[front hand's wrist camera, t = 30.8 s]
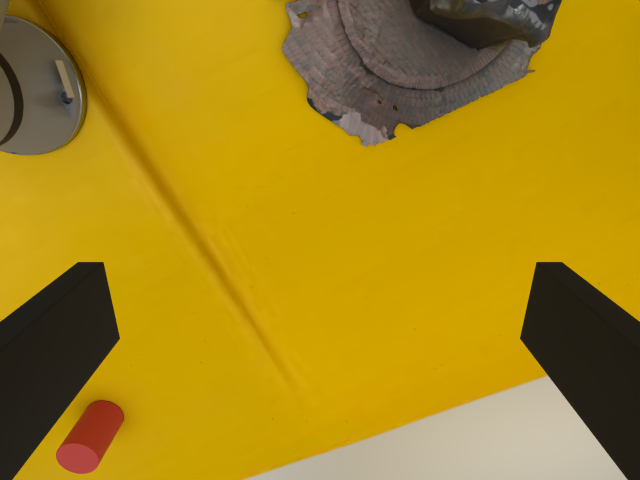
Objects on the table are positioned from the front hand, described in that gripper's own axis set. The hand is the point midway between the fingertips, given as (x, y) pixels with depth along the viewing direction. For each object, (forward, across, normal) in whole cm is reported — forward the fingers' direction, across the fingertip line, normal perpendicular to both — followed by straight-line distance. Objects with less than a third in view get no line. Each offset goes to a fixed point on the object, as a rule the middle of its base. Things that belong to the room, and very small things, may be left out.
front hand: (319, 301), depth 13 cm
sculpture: (+41, +11, +16) cm, 45 cm away
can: (+41, -35, -45) cm, 70 cm away
